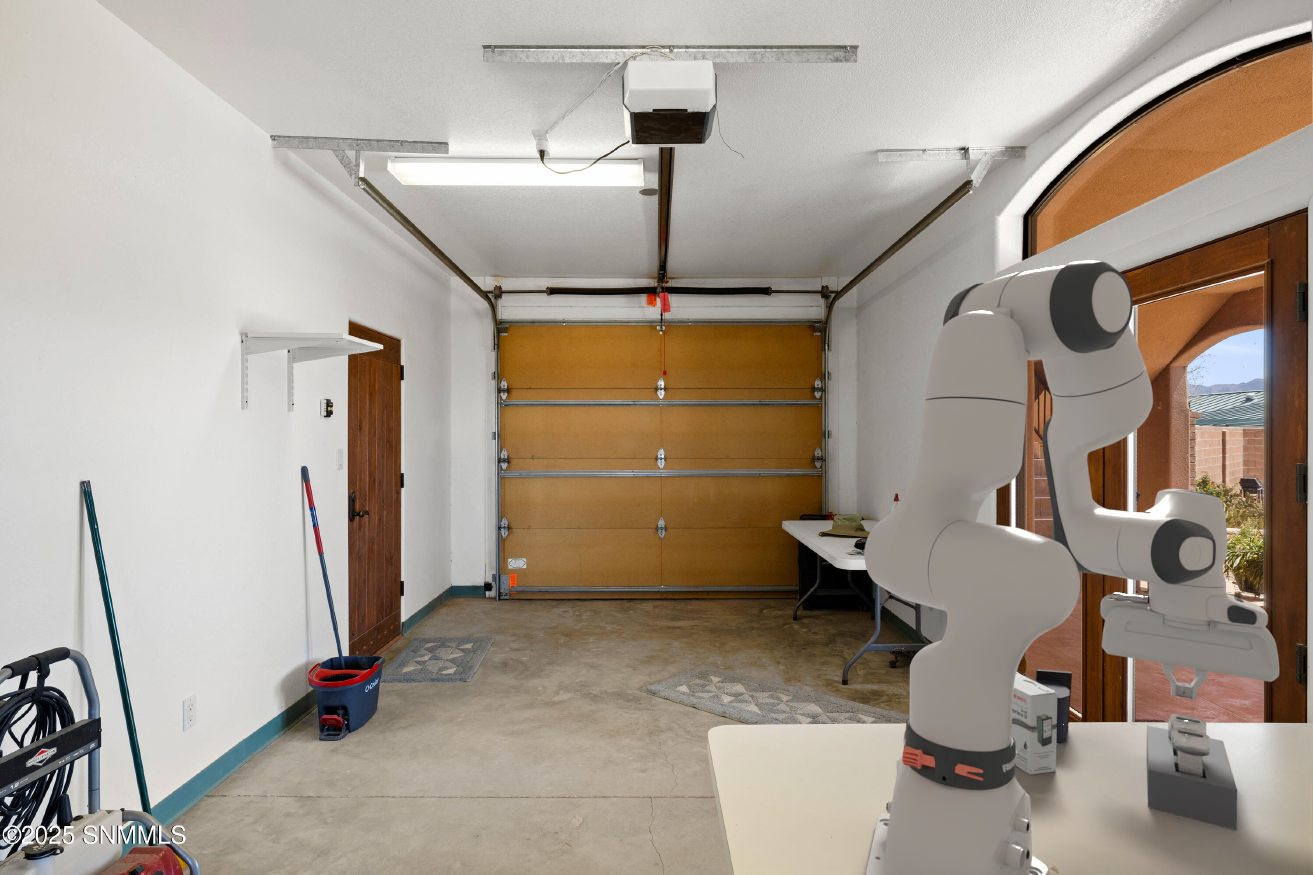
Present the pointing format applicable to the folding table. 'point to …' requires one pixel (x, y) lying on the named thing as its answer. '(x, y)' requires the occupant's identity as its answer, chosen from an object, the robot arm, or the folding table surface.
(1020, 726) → the ink box
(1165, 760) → the control panel
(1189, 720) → the middle knob
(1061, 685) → the speaker
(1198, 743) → the near knob
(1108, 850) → the folding table surface
